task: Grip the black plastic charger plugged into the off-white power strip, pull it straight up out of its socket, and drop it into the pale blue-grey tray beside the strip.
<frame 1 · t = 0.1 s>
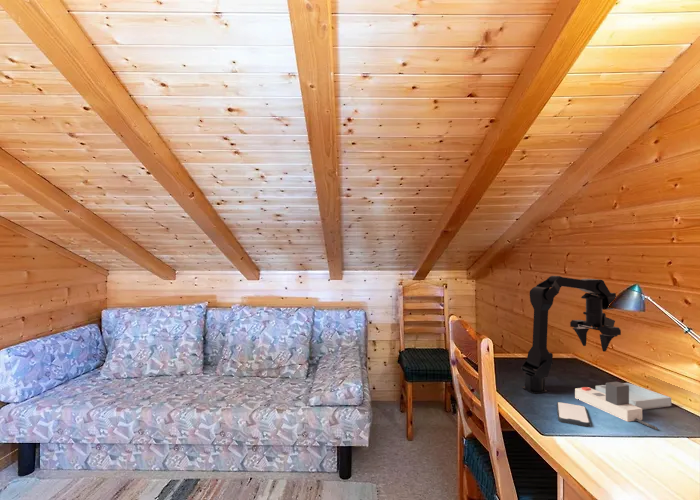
hand: (594, 348, 152), 15 cm above the table, tool pointing down, fingers open, 9 cm apart
phone case: (572, 417, 122), on the table
tray: (631, 399, 136), on the table
charger: (617, 402, 124), point 3 cm above the table, touching power strip
power strip: (606, 408, 128), on the table
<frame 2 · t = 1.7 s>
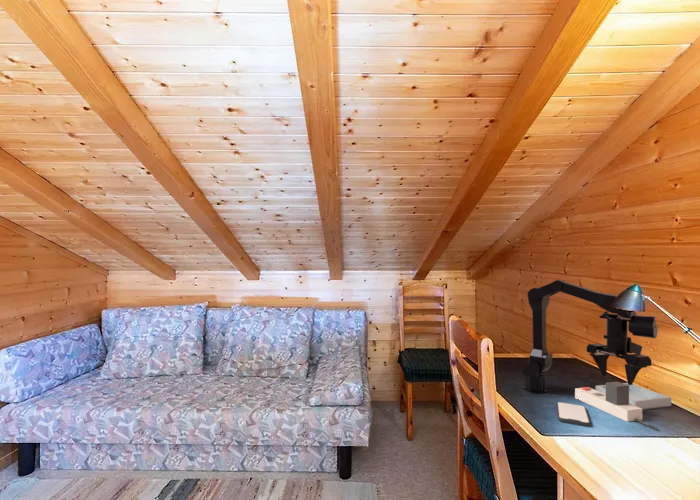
hand: (616, 380, 125), 11 cm above the table, tool pointing down, fingers open, 9 cm apart
nothing on the table moved.
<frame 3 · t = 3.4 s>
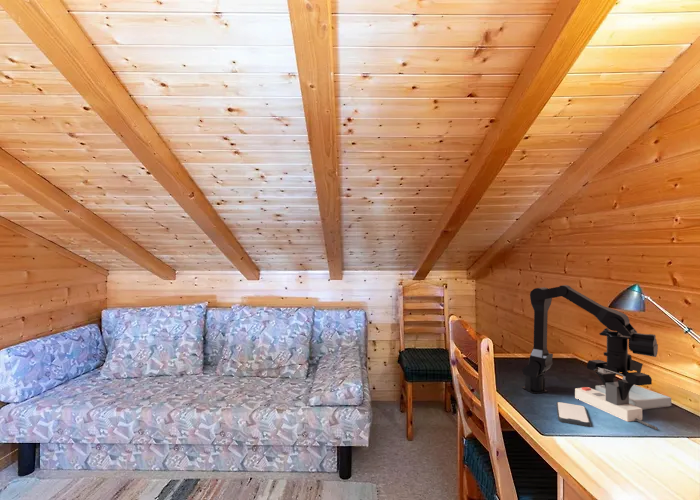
hand: (617, 397, 124), 5 cm above the table, tool pointing down, fingers closed on charger, 4 cm apart
charger: (617, 402, 124), point 3 cm above the table, touching gripper, power strip
everything else where it was.
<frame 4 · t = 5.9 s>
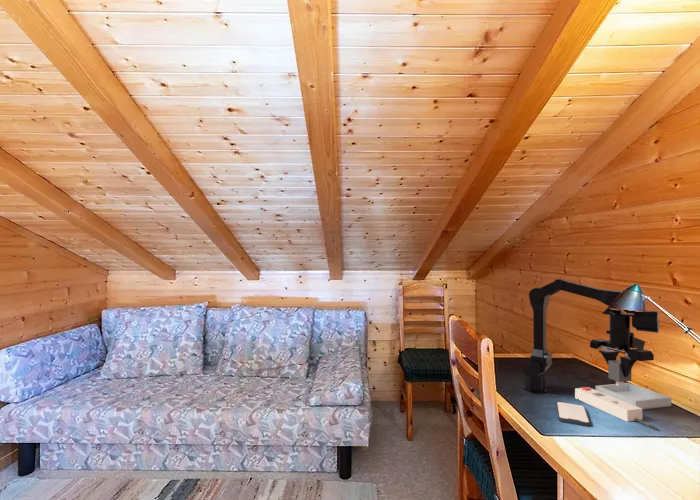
hand: (619, 374, 126), 12 cm above the table, tool pointing down, fingers closed on charger, 4 cm apart
charger: (619, 379, 126), point 10 cm above the table, touching gripper
everything else where it was.
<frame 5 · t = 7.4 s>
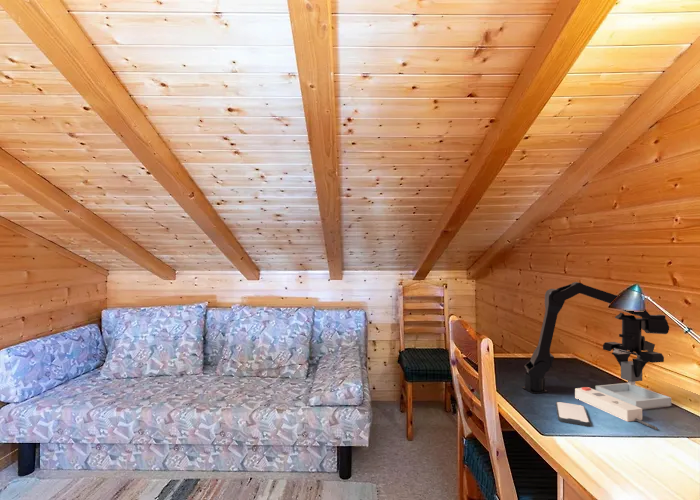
hand: (631, 375, 136), 9 cm above the table, tool pointing down, fingers closed on charger, 4 cm apart
charger: (631, 379, 136), point 7 cm above the table, touching gripper
everything else where it was.
when the fingers open (6 cm above the table, at t = 8.6 s): charger drops 2 cm, resting on tray.
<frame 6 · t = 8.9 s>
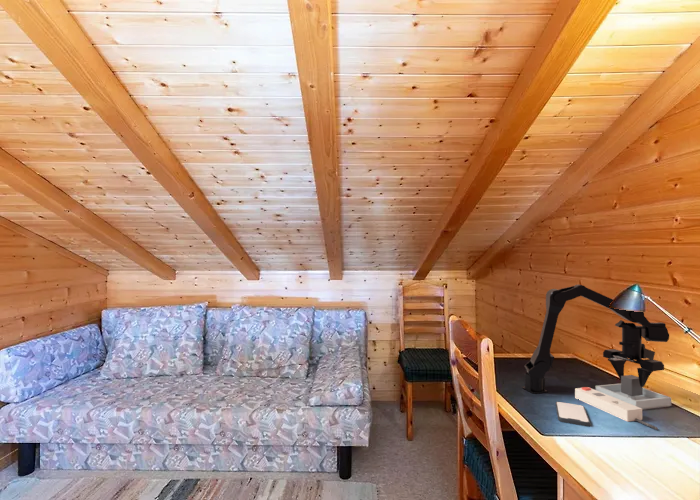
hand: (631, 383, 136), 6 cm above the table, tool pointing down, fingers open, 7 cm apart
charger: (631, 393, 136), point 2 cm above the table, touching tray
everything else where it was.
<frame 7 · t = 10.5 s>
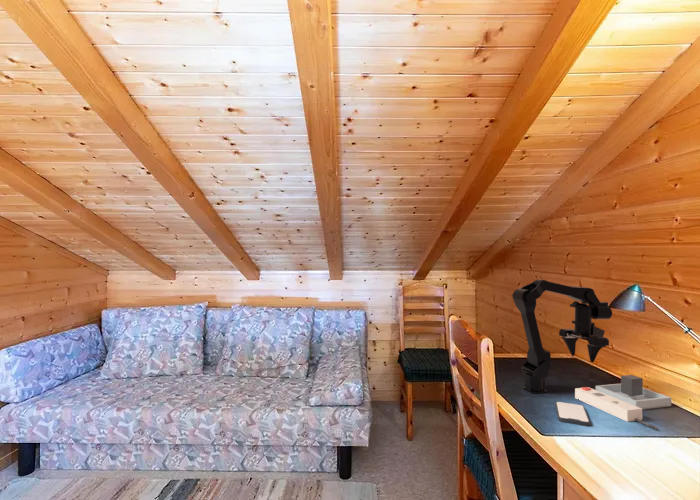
hand: (582, 358, 148), 12 cm above the table, tool pointing down, fingers open, 9 cm apart
nothing on the table moved.
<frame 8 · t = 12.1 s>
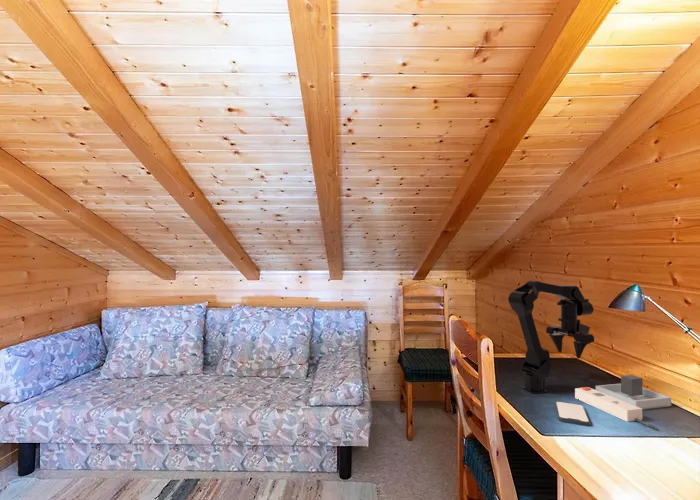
hand: (569, 355, 151), 12 cm above the table, tool pointing down, fingers open, 9 cm apart
nothing on the table moved.
at the end: charger inside the target area on the tray (0.0 cm from its centre), point 2.2 cm above the tray's base; the gripper is holding nothing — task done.
